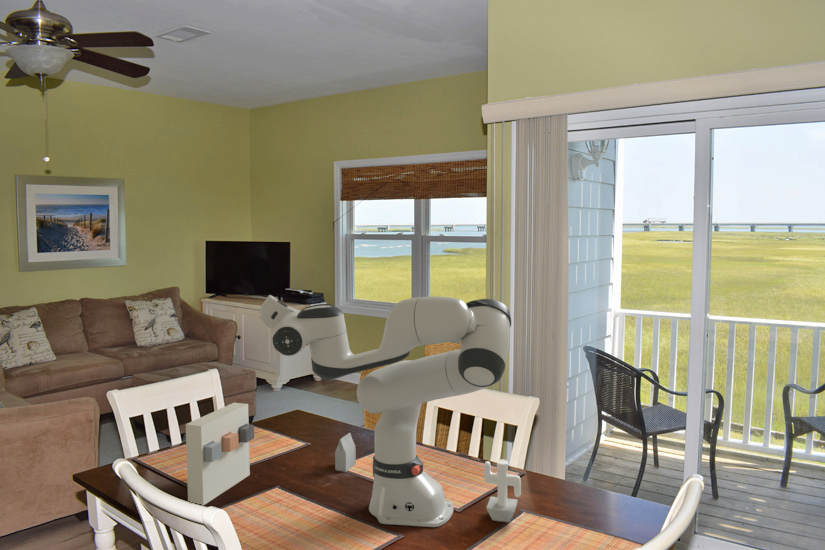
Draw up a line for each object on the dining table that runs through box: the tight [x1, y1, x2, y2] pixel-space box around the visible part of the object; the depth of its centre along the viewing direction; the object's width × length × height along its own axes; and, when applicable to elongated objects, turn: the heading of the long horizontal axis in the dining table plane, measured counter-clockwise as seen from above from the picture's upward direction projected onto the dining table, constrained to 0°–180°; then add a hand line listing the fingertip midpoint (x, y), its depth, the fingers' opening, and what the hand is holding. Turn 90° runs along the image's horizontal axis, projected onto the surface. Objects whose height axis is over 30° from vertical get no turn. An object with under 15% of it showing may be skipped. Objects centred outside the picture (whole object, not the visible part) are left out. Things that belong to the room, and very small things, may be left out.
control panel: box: [185, 402, 251, 506], centre depth 178 cm, size 5×22×22 cm, turn 161°
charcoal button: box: [238, 424, 255, 443], centre depth 185 cm, size 4×4×4 cm
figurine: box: [483, 458, 522, 523], centre depth 160 cm, size 7×9×15 cm
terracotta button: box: [222, 433, 238, 452], centre depth 177 cm, size 4×4×4 cm
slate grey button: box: [203, 442, 221, 462], centre depth 170 cm, size 4×4×4 cm
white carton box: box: [334, 432, 357, 473], centre depth 194 cm, size 4×7×10 cm, turn 159°
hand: (298, 316), depth 174 cm, fingers open, 8 cm apart
